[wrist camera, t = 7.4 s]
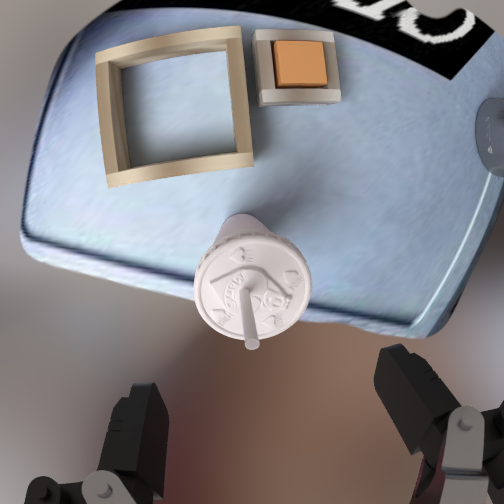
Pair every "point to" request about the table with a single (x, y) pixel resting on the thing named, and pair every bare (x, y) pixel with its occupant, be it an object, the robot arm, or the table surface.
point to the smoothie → (251, 282)
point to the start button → (298, 64)
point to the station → (267, 95)
